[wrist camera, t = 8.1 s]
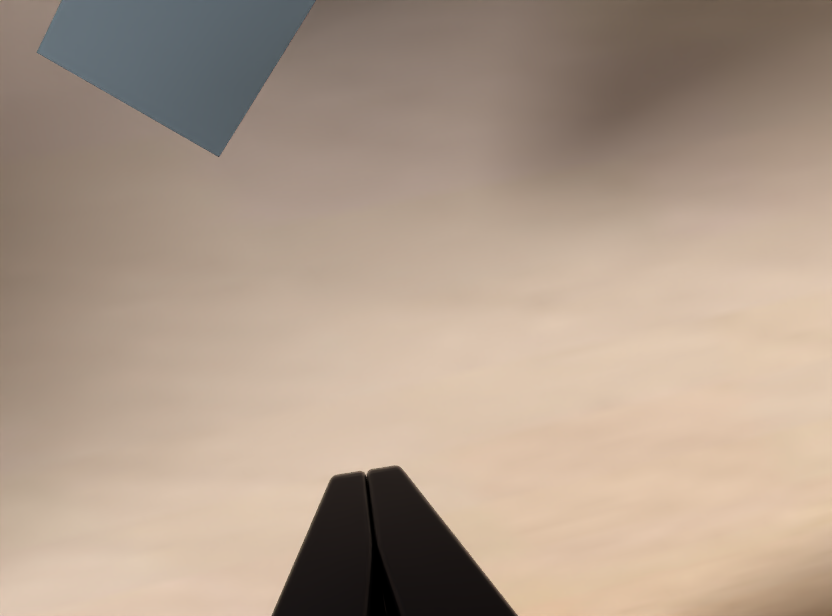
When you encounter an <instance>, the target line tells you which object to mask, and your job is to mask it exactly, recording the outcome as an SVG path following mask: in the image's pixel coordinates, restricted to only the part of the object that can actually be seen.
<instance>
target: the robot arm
mask: <svg viewBox="0 0 832 616" xmlns="http://www.w3.org/2000/svg"><path fill="white" fill-rule="evenodd" d="M272 616H518V615H517V614H516V613H515V611H514V610H513V609H512V608H511V606H510V605H509V604H508V603H507V601H506V600H505V599H504V597H503V596H502V595H501V594H500V592H499V591H498V590H497V589H496V587H495V586H494V585H493V583H492V582H491V581H490V580H489V578H488V577H487V576H486V575H485V573H484V572H483V571H482V569H481V568H480V567H479V566H478V564H477V563H476V562H475V561H474V559H473V558H472V557H471V555H470V554H469V553H468V552H467V550H466V549H465V548H464V547H463V545H462V544H461V543H460V542H459V540H458V539H457V538H456V536H455V535H454V534H453V533H452V531H451V530H450V529H449V528H448V526H447V525H446V524H445V522H444V521H443V520H442V519H441V517H440V516H439V515H438V514H437V512H436V511H435V510H434V508H433V507H432V506H431V505H430V503H429V502H428V501H427V500H426V498H425V497H424V496H423V494H422V493H421V492H420V491H419V489H418V488H417V487H416V486H415V484H414V483H413V482H412V481H411V479H410V478H409V477H408V475H407V474H406V473H405V472H404V470H403V469H402V468H401V467H399V466H389V467H382V468H376V469H371V470H369V471H368V473H367V477H366V474H365V473H364V472H362V471H357V472H351V473H345V474H339V475H335V476H333V477H332V478H331V480H330V481H329V483H328V486H327V488H326V490H325V493H324V495H323V497H322V500H321V502H320V504H319V507H318V509H317V511H316V514H315V516H314V518H313V521H312V523H311V525H310V528H309V530H308V532H307V535H306V537H305V539H304V542H303V544H302V546H301V548H300V551H299V553H298V555H297V558H296V560H295V562H294V565H293V567H292V569H291V572H290V574H289V576H288V579H287V581H286V583H285V586H284V588H283V590H282V593H281V595H280V597H279V600H278V602H277V604H276V607H275V609H274V611H273V613H272Z"/></svg>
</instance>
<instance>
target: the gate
mask: <svg viewBox="0 0 832 616" xmlns="http://www.w3.org/2000/svg"><path fill="white" fill-rule="evenodd" d="M315 1H316V0H62V1H61V3H60V5H59V7H58V9H57V11H56V14H55V16H54V18H53V20H52V22H51V24H50V26H49V28H48V30H47V32H46V34H45V36H44V38H43V40H42V42H41V44H40V47H39V49H38V51H37V53H38V54H40V55H42V56H44V57H45V58H47V59H49V60H51V61H52V62H54V63H56V64H58V65H59V66H61V67H63V68H65V69H66V70H68V71H70V72H72V73H73V74H75V75H77V76H78V77H80V78H82V79H84V80H85V81H87V82H89V83H91V84H92V85H94V86H96V87H98V88H99V89H101V90H103V91H105V92H106V93H108V94H110V95H112V96H113V97H115V98H117V99H119V100H120V101H122V102H124V103H126V104H127V105H129V106H131V107H133V108H134V109H136V110H138V111H140V112H141V113H143V114H145V115H146V116H148V117H150V118H152V119H153V120H155V121H157V122H159V123H160V124H162V125H164V126H166V127H167V128H169V129H171V130H173V131H174V132H176V133H178V134H180V135H181V136H183V137H185V138H187V139H188V140H190V141H192V142H194V143H195V144H197V145H199V146H201V147H202V148H204V149H206V150H208V151H209V152H211V153H213V154H214V155H216V156H218V157H219V156H220V155H221V153H222V151H223V150H224V148H225V147H226V145H227V143H228V142H229V140H230V139H231V137H232V135H233V134H234V132H235V130H236V129H237V127H238V126H239V124H240V122H241V121H242V119H243V117H244V116H245V114H246V113H247V111H248V109H249V108H250V106H251V105H252V103H253V101H254V100H255V98H256V96H257V95H258V93H259V92H260V90H261V88H262V87H263V85H264V84H265V82H266V80H267V79H268V77H269V75H270V74H271V72H272V71H273V69H274V67H275V66H276V64H277V62H278V61H279V59H280V58H281V56H282V54H283V53H284V51H285V50H286V48H287V46H288V45H289V43H290V41H291V40H292V38H293V37H294V35H295V33H296V32H297V30H298V29H299V27H300V25H301V24H302V22H303V20H304V19H305V17H306V16H307V14H308V12H309V11H310V9H311V7H312V6H313V4H314V3H315Z"/></svg>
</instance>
